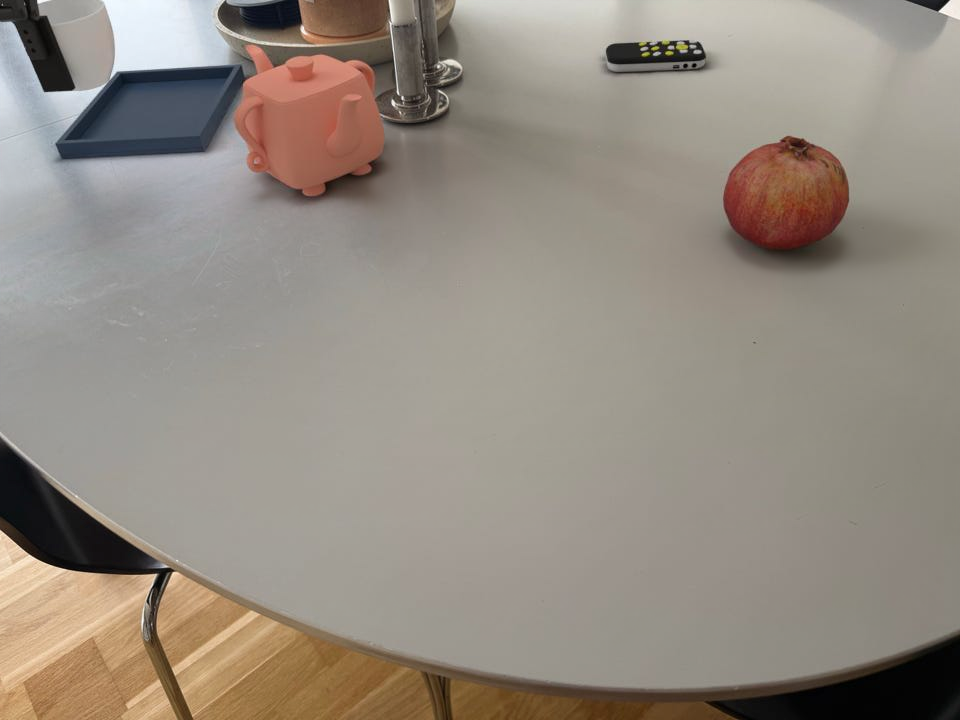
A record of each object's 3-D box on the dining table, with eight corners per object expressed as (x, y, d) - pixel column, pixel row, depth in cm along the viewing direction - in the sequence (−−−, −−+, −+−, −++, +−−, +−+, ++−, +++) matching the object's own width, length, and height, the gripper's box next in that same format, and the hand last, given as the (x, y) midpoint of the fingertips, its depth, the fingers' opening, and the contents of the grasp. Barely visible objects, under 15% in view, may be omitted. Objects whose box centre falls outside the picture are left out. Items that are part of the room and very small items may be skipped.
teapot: (378, 206, 86) (359, 89, 77) (228, 204, 88) (193, 91, 79) (404, 139, 97) (390, 31, 88) (270, 139, 99) (244, 34, 90)
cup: (56, 106, 75) (25, 32, 71) (32, 73, 81) (2, 4, 77) (139, 83, 78) (114, 10, 74) (109, 53, 85) (85, -16, 80)
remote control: (604, 55, 112) (605, 41, 110) (699, 51, 111) (700, 36, 109) (607, 74, 107) (608, 59, 106) (706, 70, 106) (708, 54, 105)
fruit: (840, 220, 78) (867, 122, 72) (832, 279, 71) (860, 177, 65) (727, 204, 82) (742, 109, 75) (708, 258, 75) (723, 159, 68)
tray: (204, 151, 98) (199, 135, 96) (61, 158, 99) (54, 143, 97) (245, 78, 114) (241, 64, 112) (122, 85, 115) (116, 71, 113)
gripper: (-56, -196, 56) (73, 117, 71) (70, -235, 72) (153, 27, 87) (-161, -189, 56) (-11, 120, 71) (-13, -229, 72) (84, 31, 87)
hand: (79, 69), depth 79 cm, fingers closed on cup, 9 cm apart
